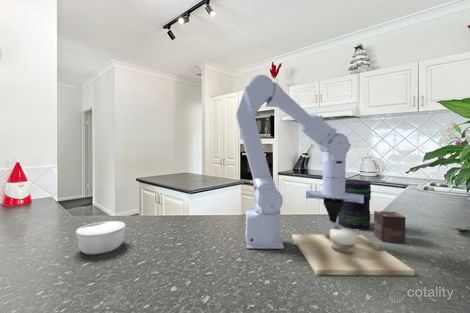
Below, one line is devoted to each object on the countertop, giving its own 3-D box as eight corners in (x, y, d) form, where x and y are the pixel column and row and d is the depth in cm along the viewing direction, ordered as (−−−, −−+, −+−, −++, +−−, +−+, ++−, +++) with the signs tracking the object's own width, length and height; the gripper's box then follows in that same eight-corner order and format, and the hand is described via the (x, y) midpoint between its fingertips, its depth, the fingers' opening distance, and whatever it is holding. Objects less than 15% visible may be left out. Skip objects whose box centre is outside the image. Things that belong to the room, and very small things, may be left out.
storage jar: (344, 219, 87) (345, 179, 86) (374, 225, 79) (375, 181, 79) (332, 224, 80) (333, 181, 79) (363, 232, 73) (365, 184, 72)
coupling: (362, 243, 55) (362, 231, 55) (341, 246, 54) (341, 233, 54) (328, 226, 67) (328, 216, 67) (310, 228, 66) (310, 218, 66)
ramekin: (107, 236, 68) (107, 218, 68) (135, 243, 63) (135, 224, 63) (65, 251, 58) (65, 230, 58) (94, 261, 53) (94, 238, 53)
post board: (316, 274, 48) (316, 260, 47) (292, 237, 68) (292, 227, 67) (414, 275, 48) (414, 260, 48) (361, 238, 68) (361, 228, 68)
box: (405, 243, 64) (406, 217, 64) (381, 242, 65) (382, 215, 65) (395, 236, 70) (395, 211, 70) (373, 234, 71) (373, 210, 71)
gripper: (362, 177, 65) (361, 225, 65) (308, 174, 71) (307, 218, 71) (364, 179, 58) (363, 233, 59) (304, 176, 64) (304, 225, 65)
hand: (333, 226), depth 64 cm, fingers closed
